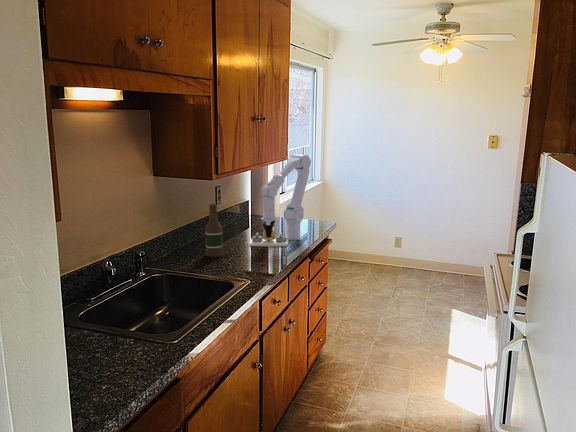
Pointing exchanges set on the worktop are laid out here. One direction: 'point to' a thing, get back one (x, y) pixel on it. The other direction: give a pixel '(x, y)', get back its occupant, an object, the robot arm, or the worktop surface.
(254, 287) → the worktop surface
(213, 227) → the beer bottle
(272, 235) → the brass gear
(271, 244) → the gear board
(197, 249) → the worktop surface
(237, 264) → the worktop surface
